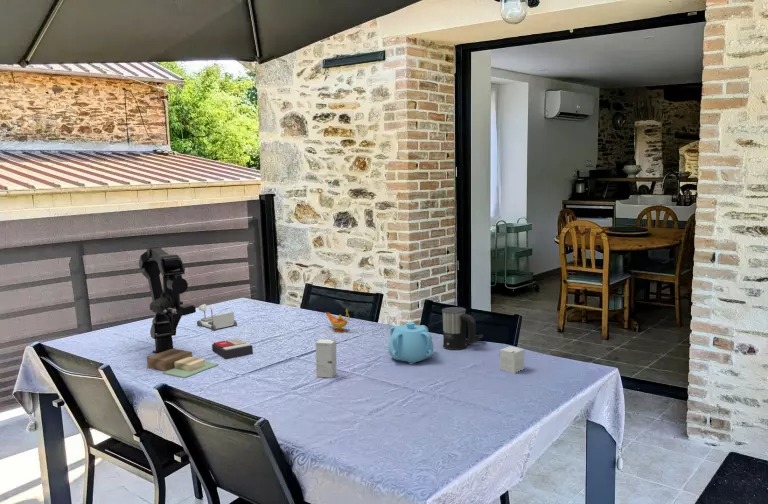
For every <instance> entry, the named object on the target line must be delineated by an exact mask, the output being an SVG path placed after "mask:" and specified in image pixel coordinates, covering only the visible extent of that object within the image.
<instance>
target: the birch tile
mask: <svg viewBox="0 0 768 504" xmlns="http://www.w3.org/2000/svg"><path fill="white" fill-rule="evenodd" d="M205 361H206V359H205V358H204V359H203V358H199V357H193V356H192V357H187V358H184V359H181V360H178V361H176V362H174V365H175V369H180V370H185V371H193V370H196V369H199V368H201V367H204V366H205Z"/></svg>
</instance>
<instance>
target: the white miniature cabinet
mask: <svg viewBox="0 0 768 504" xmlns="http://www.w3.org/2000/svg"><path fill="white" fill-rule="evenodd" d="M315 363H316V364H315V369H316V370H315V375H316V377H319V378H327V379H330V378H331V379H333V378H334V377H335V376H336V375H337V340H336V339H323V338H320V339H319V340H317V341H316V342H315Z"/></svg>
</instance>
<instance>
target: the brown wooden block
mask: <svg viewBox="0 0 768 504" xmlns="http://www.w3.org/2000/svg"><path fill="white" fill-rule="evenodd" d="M192 353H193V352H192V351H190V350H183V349H178V348H174V349H170V350H167V351H164V352H161V353H155V354H152V355H149V356H146V364H147V368H148V369H152V370H156V371H160V372H161V371H162V372H165V371H168V370H171V369H174V368H175V365H174V362H176V361H178V360H181V359H184V358H187V357H193V354H192Z"/></svg>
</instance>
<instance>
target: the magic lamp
mask: <svg viewBox="0 0 768 504" xmlns="http://www.w3.org/2000/svg"><path fill="white" fill-rule="evenodd" d="M345 312H346V314H345V318H344V317H343V315H342V314H339V316H338V317H335V316H334V315H332V314H331V313H330V312H328V311H325V312H324V313H325V315H326V316H327V318H328V320H329V322H330V323H331V324H330V325H332V326H333V327H335V328H336V329H334V330H333V332H334V331H335V332H334V333H337V332H341V333H344V332H343V331H345V332H346V330H345V329H344V328H347V324H348V322H349V321H350V315H349V308H345ZM347 317H348V319H347ZM346 319H347V320H346Z"/></svg>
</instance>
